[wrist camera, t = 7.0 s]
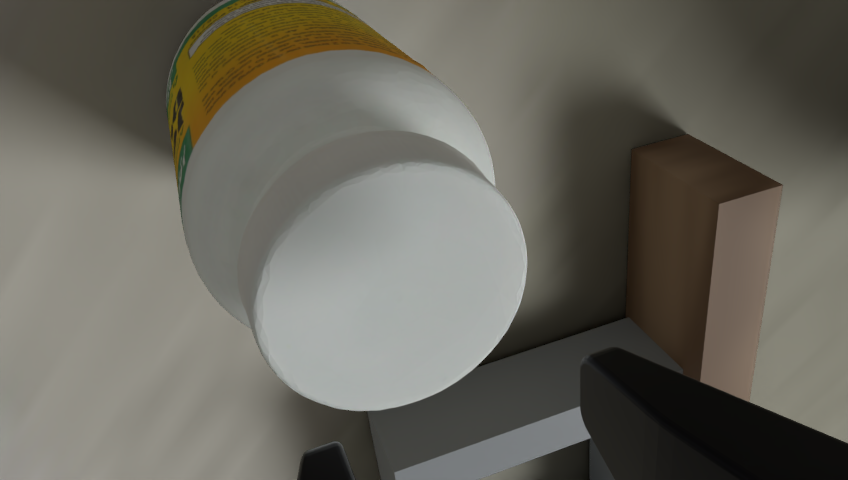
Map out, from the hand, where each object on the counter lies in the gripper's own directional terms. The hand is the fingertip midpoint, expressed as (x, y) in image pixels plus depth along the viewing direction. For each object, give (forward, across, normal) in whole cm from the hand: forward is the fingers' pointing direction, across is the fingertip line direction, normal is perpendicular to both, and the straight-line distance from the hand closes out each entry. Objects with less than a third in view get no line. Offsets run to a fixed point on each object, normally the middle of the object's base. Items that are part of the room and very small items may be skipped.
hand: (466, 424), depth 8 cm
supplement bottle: (+12, 0, 0) cm, 12 cm away
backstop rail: (+12, -11, +15) cm, 22 cm away
